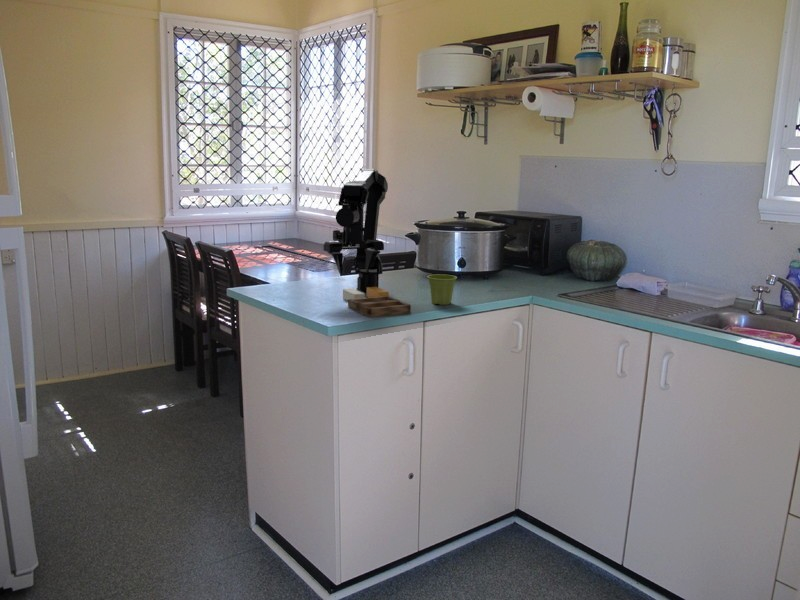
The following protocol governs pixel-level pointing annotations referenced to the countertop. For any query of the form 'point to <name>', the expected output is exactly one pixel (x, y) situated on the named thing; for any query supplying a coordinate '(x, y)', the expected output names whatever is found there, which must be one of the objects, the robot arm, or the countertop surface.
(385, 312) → the slot board
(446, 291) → the plant pot
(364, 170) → the robot arm
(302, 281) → the countertop surface
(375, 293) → the tall amber prism
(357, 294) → the off-white square pillar
